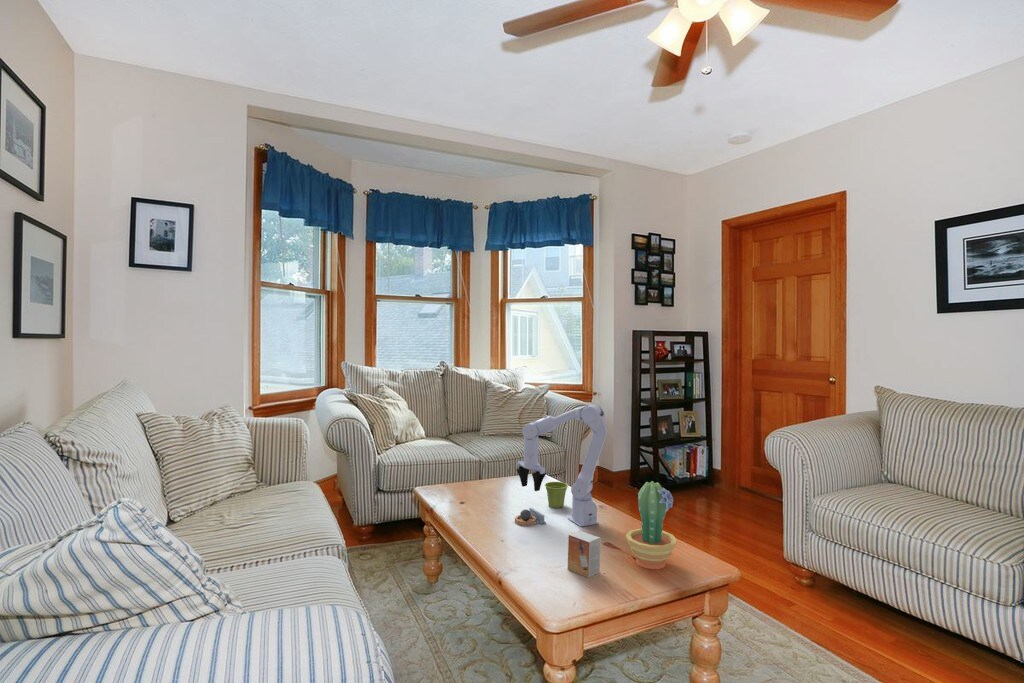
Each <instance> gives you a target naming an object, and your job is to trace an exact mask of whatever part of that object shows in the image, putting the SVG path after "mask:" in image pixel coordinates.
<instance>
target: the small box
mask: <svg viewBox="0 0 1024 683" xmlns="http://www.w3.org/2000/svg"><path fill="white" fill-rule="evenodd" d="M567 539H568V542H567V544H568V545H567V546H568V547H567V569H568V570H569V571H572V572H575V573H577V574H579V575H582V576H584V577H586V578H591V577H593V576H594V575H596V574H599V573H600V570H601V569H600V568H601V567H600V565H601V563H600V562H601V537H599V536H596V535H594V534H590V533H587V532H584V531H582V530H576V531H575V532H572V533H569V534H568V538H567Z"/></svg>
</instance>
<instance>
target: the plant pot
mask: <svg viewBox="0 0 1024 683" xmlns="http://www.w3.org/2000/svg"><path fill="white" fill-rule="evenodd" d="M544 487H545V490H546V493H547V494H546V495H547V501H548V502H547V505H548V506H549V507H552V508H553V509H560V508H563V507H564V506H565V497H566V491H567V490H568V487H569V485H568V483H566V482H562V481H550V482H549V481H548V482H545V483H544Z"/></svg>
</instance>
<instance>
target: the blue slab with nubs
mask: <svg viewBox="0 0 1024 683" xmlns="http://www.w3.org/2000/svg"><path fill="white" fill-rule="evenodd" d="M528 510H529V511H530V513H531V515H532V516H534V517H536V522H538V524H539V525H546V524H547V521H545V515H544V514H542V513H541V512H540V511H538V510H536V509H535V508H533V507H529V509H528Z"/></svg>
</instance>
